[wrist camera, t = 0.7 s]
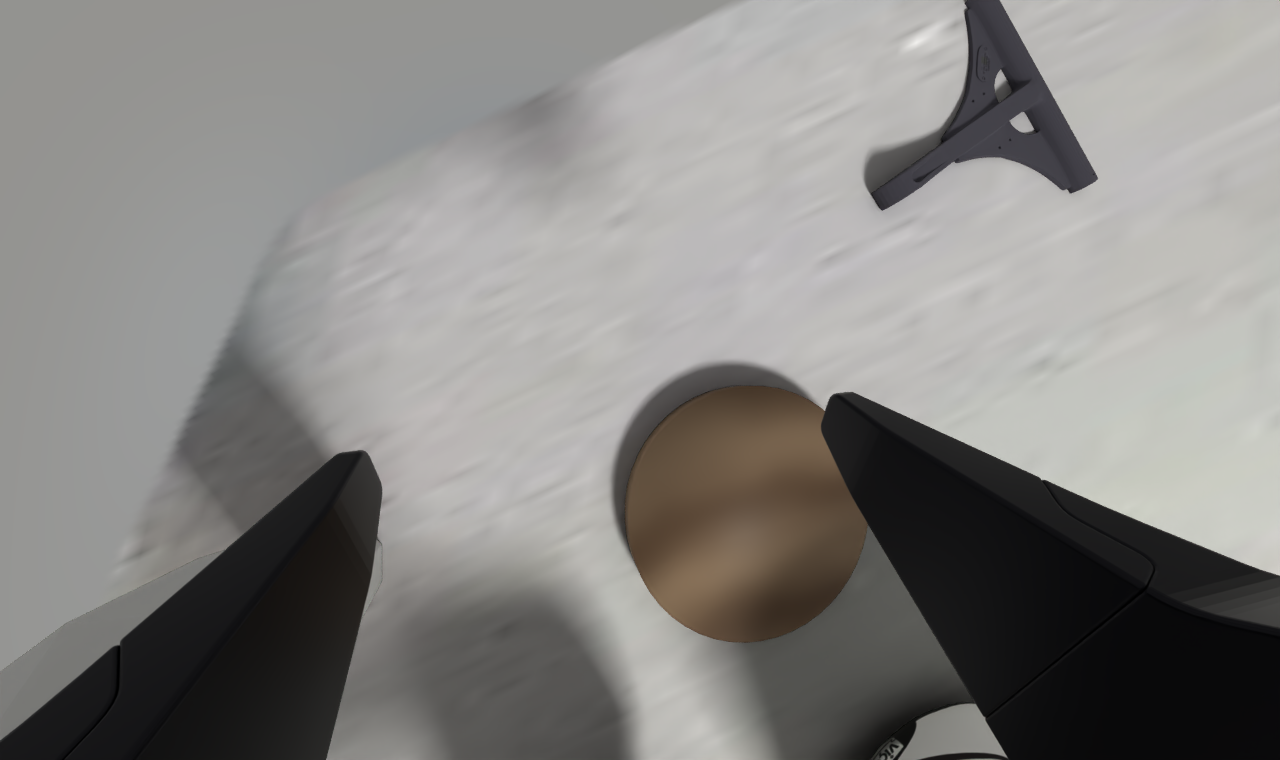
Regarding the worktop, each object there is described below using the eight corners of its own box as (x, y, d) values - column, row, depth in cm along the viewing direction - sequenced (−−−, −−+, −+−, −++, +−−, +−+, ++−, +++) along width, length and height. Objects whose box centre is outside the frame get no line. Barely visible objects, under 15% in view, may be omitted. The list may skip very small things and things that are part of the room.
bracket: (807, 107, 28) (834, 77, 25) (972, 0, 30) (1014, -38, 28) (924, 302, 30) (962, 294, 27) (1073, 186, 32) (1122, 167, 29)
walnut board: (878, 572, 28) (896, 582, 26) (668, 668, 25) (675, 685, 24) (814, 355, 27) (828, 353, 26) (591, 431, 25) (593, 434, 23)
